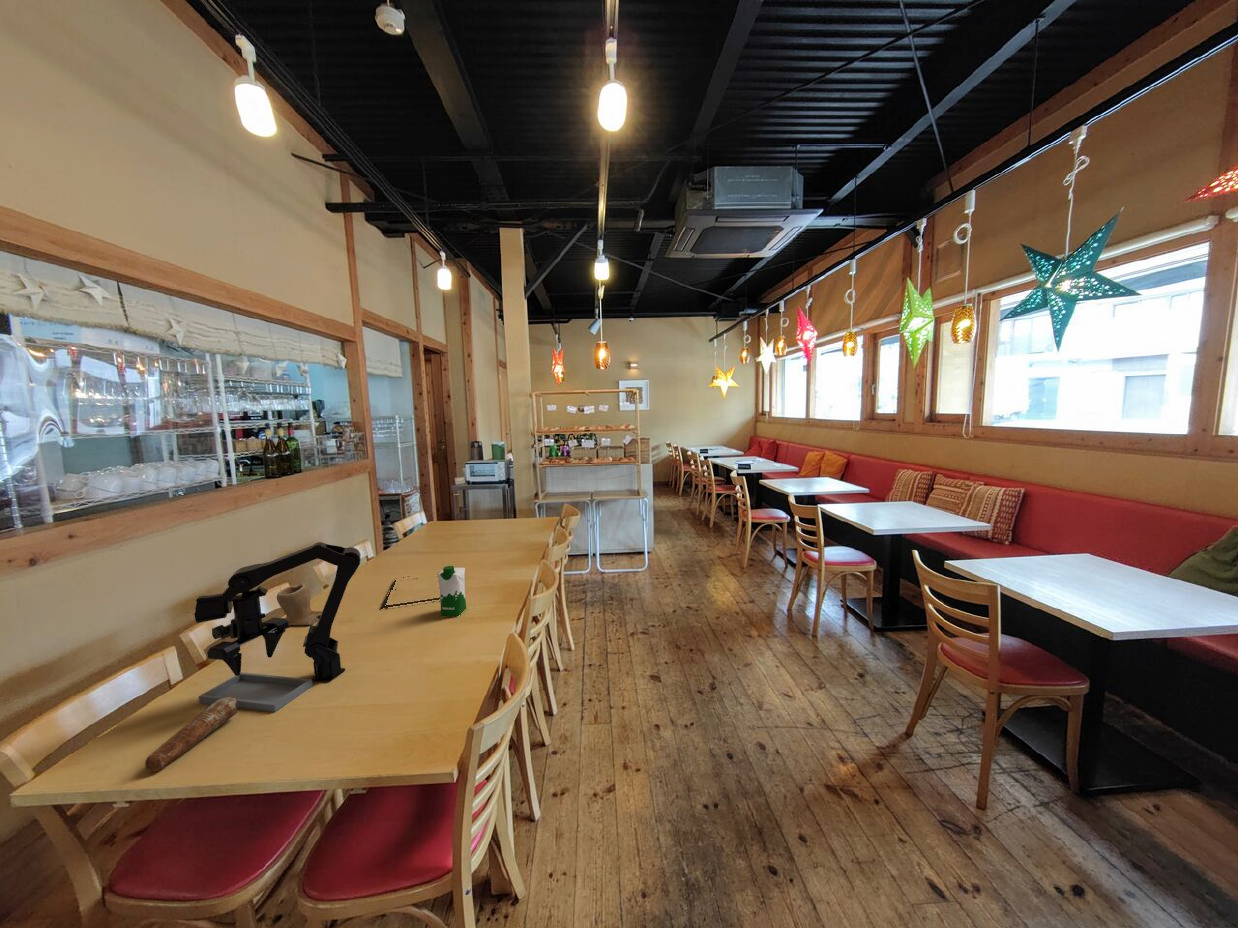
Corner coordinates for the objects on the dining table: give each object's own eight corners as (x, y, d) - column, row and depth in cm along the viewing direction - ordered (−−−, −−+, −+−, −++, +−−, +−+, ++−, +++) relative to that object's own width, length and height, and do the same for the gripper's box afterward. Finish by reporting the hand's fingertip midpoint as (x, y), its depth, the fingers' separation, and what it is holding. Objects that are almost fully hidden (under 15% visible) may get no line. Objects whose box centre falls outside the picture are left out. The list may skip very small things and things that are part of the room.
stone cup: (271, 629, 167) (267, 591, 165) (298, 615, 179) (294, 579, 177) (307, 631, 165) (303, 592, 163) (332, 617, 177) (329, 580, 175)
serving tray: (312, 687, 130) (311, 679, 130) (275, 713, 119) (274, 704, 119) (242, 679, 135) (241, 672, 134) (199, 704, 123) (198, 696, 123)
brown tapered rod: (240, 716, 117) (241, 697, 116) (158, 777, 98) (159, 756, 97) (218, 710, 118) (219, 691, 117) (133, 770, 99) (133, 749, 98)
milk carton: (438, 619, 172) (434, 569, 170) (449, 609, 181) (445, 561, 179) (459, 620, 171) (456, 569, 169) (469, 609, 180) (466, 561, 178)
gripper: (256, 597, 135) (262, 646, 136) (186, 627, 116) (194, 683, 118) (287, 599, 133) (293, 649, 134) (221, 629, 114) (228, 686, 116)
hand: (254, 665), depth 126 cm, fingers open, 9 cm apart
